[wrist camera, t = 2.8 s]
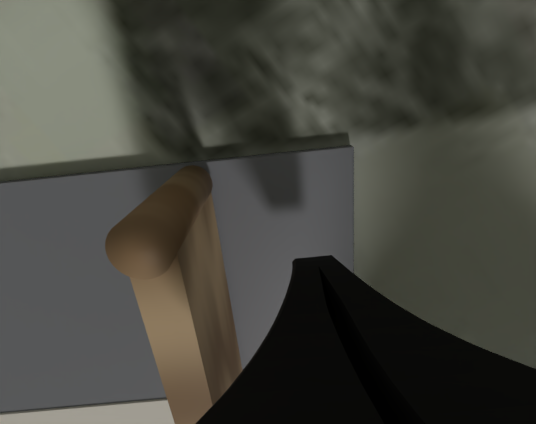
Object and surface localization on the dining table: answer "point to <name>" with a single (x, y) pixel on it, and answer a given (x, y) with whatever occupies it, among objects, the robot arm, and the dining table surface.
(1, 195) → the card
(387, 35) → the dining table surface
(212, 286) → the gate panel
